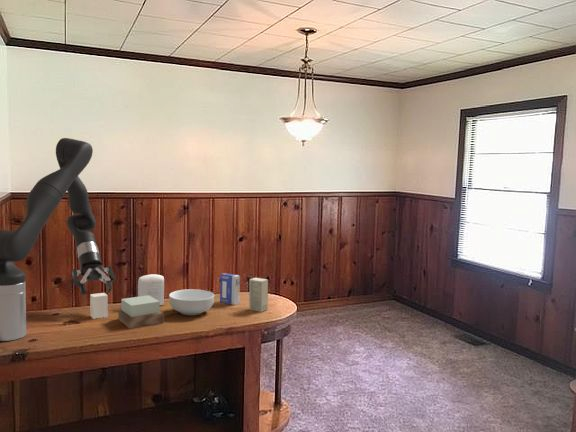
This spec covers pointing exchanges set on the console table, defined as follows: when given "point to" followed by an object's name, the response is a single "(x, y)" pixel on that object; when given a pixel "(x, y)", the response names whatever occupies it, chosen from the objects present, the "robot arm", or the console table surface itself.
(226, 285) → the walkman
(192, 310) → the cereal bowl
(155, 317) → the tower base
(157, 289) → the photo printer
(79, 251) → the robot arm
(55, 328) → the console table surface
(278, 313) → the console table surface
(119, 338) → the console table surface
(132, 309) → the tower top
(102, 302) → the cream block
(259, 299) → the skincare box
